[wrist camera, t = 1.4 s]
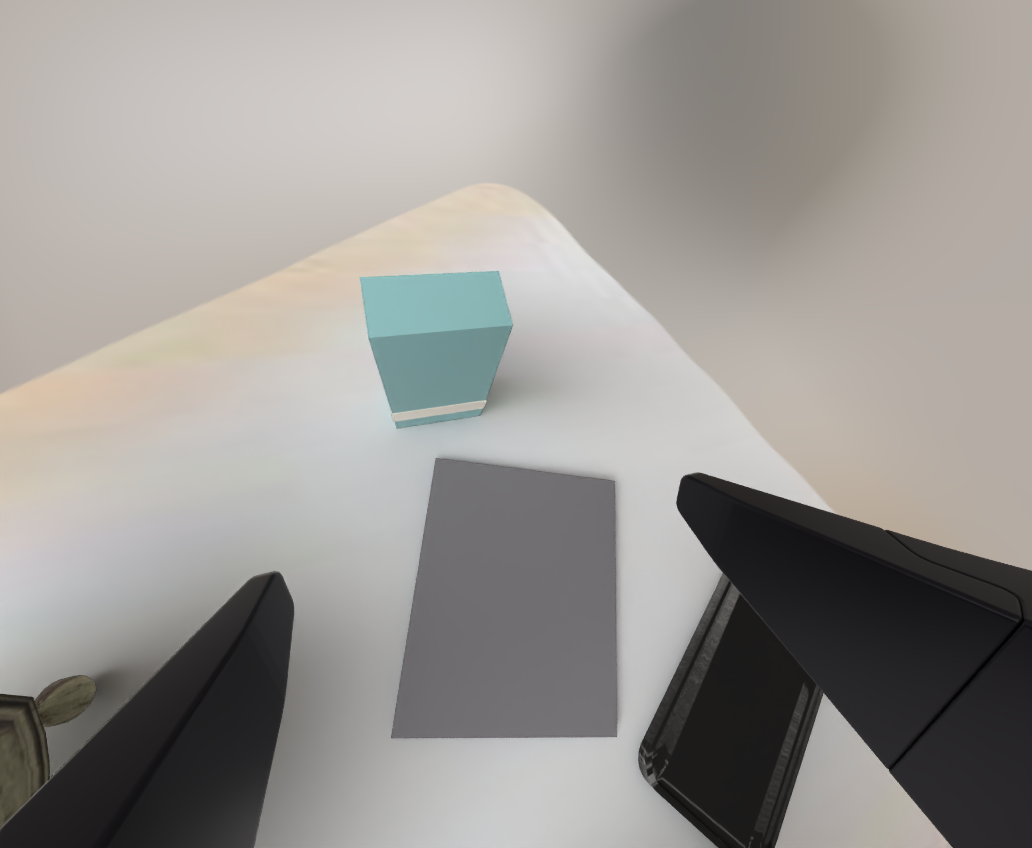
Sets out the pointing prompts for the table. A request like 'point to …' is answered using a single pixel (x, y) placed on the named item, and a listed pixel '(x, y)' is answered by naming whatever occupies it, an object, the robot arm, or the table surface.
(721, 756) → the phone
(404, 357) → the box
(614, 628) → the felt mat
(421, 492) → the table surface
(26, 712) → the tabletop clock
